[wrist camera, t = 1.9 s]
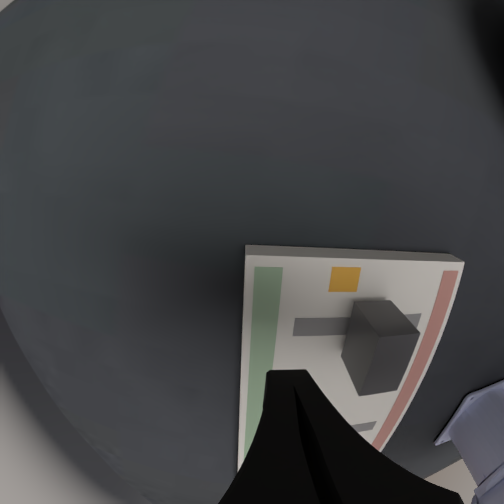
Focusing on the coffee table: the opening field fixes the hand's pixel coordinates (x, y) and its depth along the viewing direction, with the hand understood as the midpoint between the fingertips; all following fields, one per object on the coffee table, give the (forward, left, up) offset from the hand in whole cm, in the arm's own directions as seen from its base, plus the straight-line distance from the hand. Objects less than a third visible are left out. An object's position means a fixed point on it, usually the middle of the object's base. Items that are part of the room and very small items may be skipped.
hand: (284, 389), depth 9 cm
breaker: (-5, 0, -4) cm, 6 cm away
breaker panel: (-5, +9, -6) cm, 12 cm away
